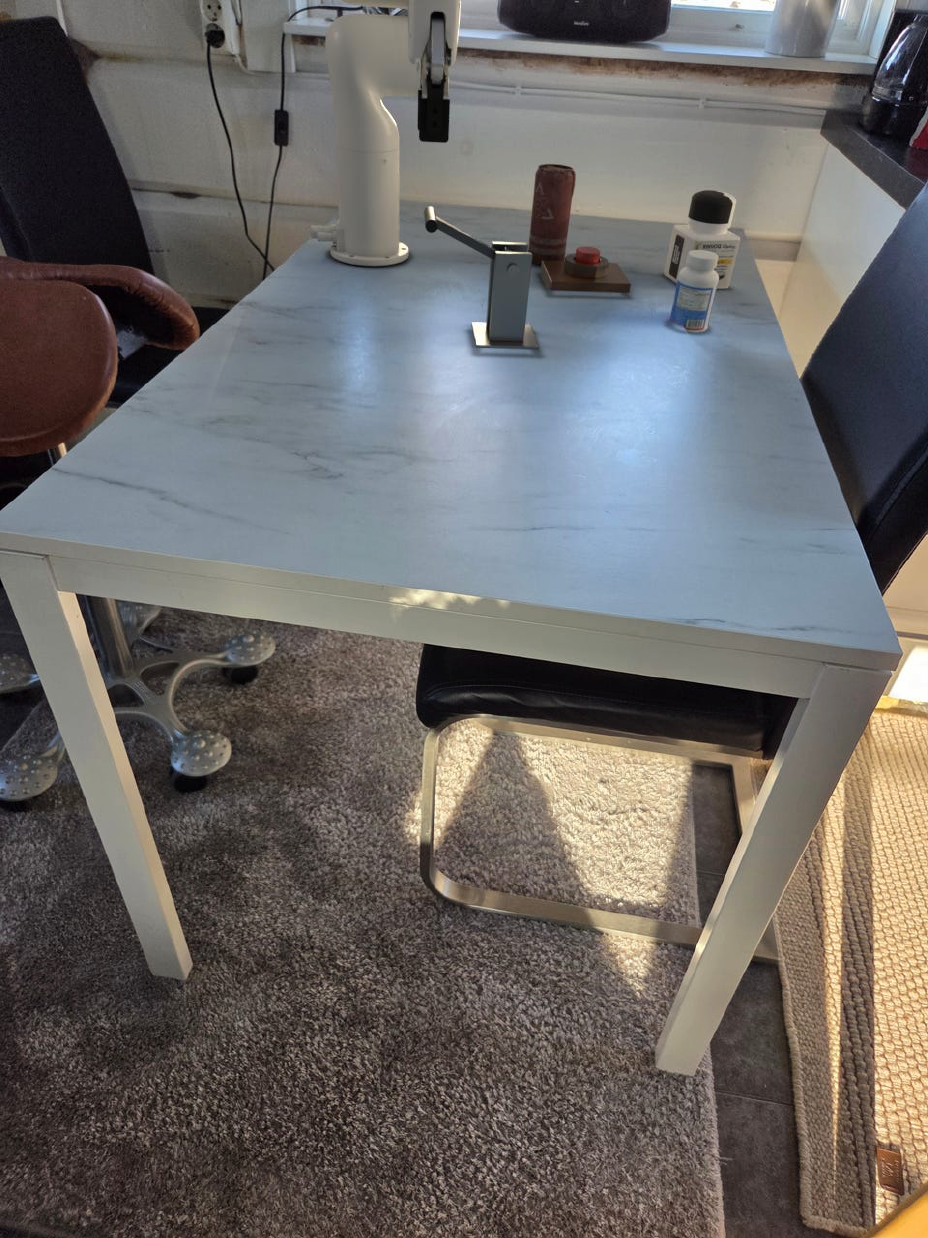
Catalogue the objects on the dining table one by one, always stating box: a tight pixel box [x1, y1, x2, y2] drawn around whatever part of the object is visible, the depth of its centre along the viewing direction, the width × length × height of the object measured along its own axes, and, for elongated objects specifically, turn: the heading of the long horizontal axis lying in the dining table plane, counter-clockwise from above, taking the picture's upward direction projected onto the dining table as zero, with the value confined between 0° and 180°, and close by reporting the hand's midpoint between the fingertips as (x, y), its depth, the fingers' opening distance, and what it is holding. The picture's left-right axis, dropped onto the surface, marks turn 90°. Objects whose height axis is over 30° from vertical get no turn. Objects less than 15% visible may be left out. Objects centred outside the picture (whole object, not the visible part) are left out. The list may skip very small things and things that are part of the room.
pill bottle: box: [669, 250, 719, 334], centre depth 113 cm, size 6×5×10 cm
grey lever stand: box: [471, 241, 540, 350], centre depth 104 cm, size 8×8×12 cm
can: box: [527, 163, 577, 267], centre depth 132 cm, size 6×6×14 cm
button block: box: [540, 252, 632, 294], centre depth 126 cm, size 12×10×4 cm
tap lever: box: [423, 206, 514, 261], centre depth 100 cm, size 13×6×2 cm, turn 94°
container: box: [663, 189, 741, 290], centre depth 128 cm, size 8×8×13 cm
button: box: [575, 246, 601, 264], centre depth 125 cm, size 4×4×2 cm
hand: (432, 134), depth 92 cm, fingers open, 5 cm apart
